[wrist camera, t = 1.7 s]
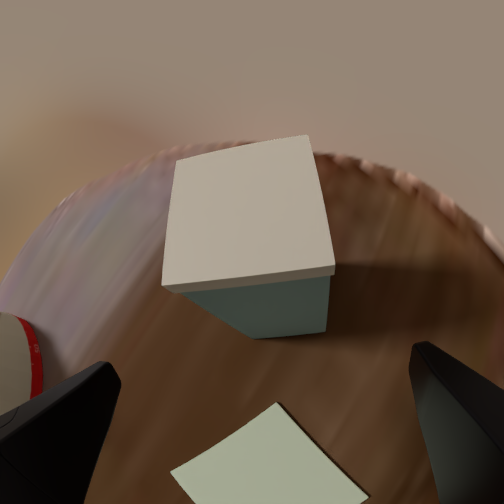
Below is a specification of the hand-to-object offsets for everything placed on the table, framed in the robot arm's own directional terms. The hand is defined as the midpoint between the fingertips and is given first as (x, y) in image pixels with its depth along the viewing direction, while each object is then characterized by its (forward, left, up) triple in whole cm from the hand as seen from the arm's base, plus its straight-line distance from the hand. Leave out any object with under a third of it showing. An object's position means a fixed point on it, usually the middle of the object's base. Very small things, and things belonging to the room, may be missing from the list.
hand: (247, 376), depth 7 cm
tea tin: (+4, -3, -12) cm, 13 cm away
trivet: (-6, +7, -12) cm, 15 cm away
